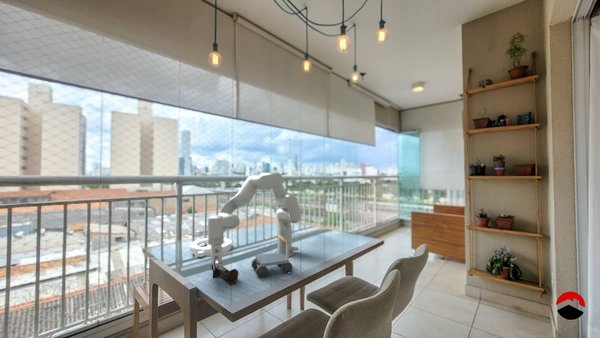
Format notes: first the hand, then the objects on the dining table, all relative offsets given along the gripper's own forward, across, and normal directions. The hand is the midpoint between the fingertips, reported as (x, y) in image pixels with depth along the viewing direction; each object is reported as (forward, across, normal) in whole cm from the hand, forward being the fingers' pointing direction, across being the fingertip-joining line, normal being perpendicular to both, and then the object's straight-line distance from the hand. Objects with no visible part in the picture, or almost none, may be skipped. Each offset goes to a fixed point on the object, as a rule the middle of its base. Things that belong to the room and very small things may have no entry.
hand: (215, 273), depth 122 cm
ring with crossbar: (+4, +52, -1) cm, 52 cm away
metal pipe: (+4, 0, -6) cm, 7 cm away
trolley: (+3, 0, -30) cm, 30 cm away
